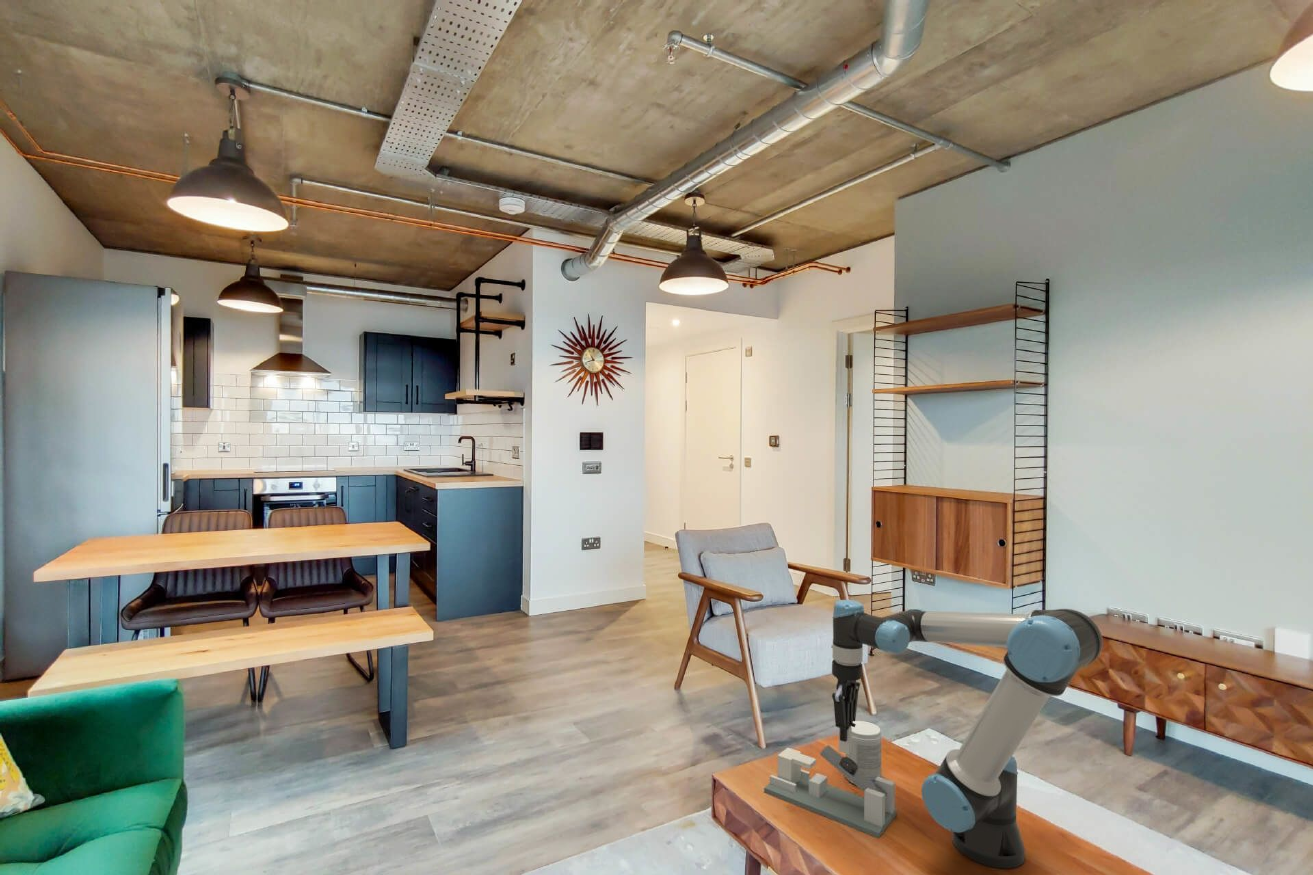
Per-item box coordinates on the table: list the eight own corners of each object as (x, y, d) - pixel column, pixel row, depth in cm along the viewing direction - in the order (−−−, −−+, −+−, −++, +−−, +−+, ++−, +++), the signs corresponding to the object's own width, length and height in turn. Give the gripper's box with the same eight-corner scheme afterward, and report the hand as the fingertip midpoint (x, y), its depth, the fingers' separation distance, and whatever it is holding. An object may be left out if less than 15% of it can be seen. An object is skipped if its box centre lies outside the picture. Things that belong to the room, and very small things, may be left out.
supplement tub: (887, 780, 180) (888, 728, 181) (870, 792, 174) (871, 738, 174) (855, 767, 187) (856, 717, 188) (838, 778, 181) (839, 726, 181)
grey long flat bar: (885, 797, 163) (889, 790, 162) (879, 804, 159) (883, 797, 159) (826, 748, 173) (830, 741, 172) (819, 754, 169) (823, 747, 169)
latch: (817, 785, 175) (817, 757, 175) (807, 794, 170) (808, 766, 170) (787, 774, 180) (787, 747, 181) (777, 782, 176) (777, 755, 176)
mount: (896, 814, 164) (897, 781, 164) (878, 837, 154) (879, 802, 154) (786, 773, 183) (787, 743, 183) (764, 792, 173) (764, 760, 173)
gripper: (843, 651, 175) (841, 738, 175) (822, 664, 164) (820, 756, 164) (870, 658, 170) (868, 747, 170) (851, 671, 160) (849, 766, 160)
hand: (844, 751), depth 167 cm, fingers closed
